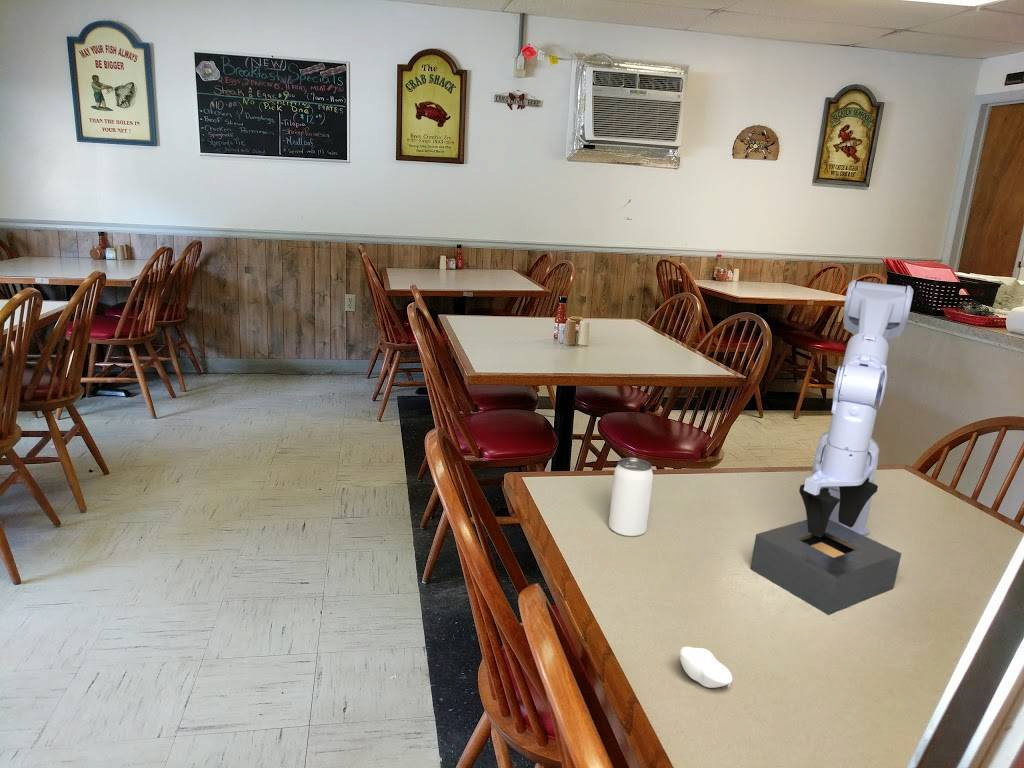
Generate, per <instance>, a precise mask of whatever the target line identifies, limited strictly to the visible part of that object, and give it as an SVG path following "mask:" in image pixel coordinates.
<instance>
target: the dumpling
mask: <svg viewBox="0 0 1024 768" xmlns="http://www.w3.org/2000/svg"><path fill="white" fill-rule="evenodd" d="M679 660H680V663H681V665H682V668H683V670H684V671H685V673H686V674H687V675H688V677H690V679H692V680H693V681H695V682H697V683H699V684H700V685H702V686H703V687H704V688H709V689H711V688H712V689H714V688H720V687H725V686H727V685H728V686H727V687H728V688H729V687H730V686H731V684H732V682H733V675H732V673H731V671H730V670H729V669H728V667H726V666H725V665H724V664H723V663H721V662H719V660H718V659H716V657H715V655H714V654H713V653H712V652H711V651H710V650H709V649H706V648H703V647H693V646H688V645H687V646H682V647H680V650H679ZM732 660H733V658H732Z"/></svg>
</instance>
